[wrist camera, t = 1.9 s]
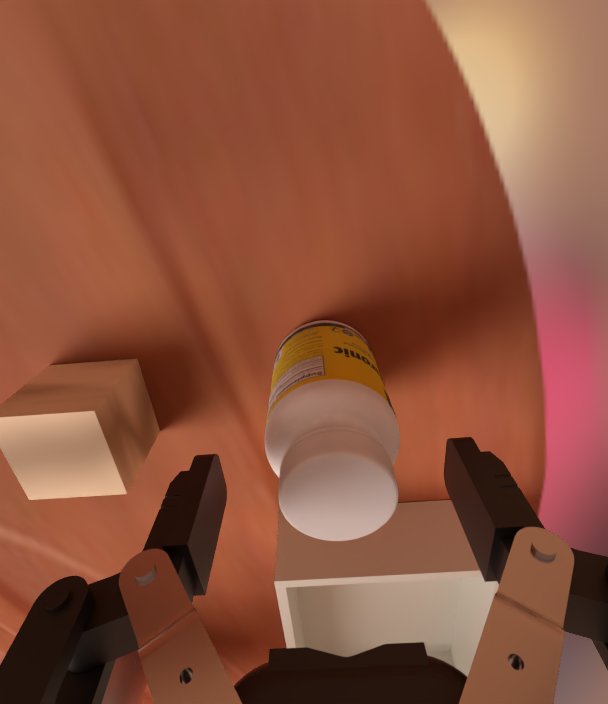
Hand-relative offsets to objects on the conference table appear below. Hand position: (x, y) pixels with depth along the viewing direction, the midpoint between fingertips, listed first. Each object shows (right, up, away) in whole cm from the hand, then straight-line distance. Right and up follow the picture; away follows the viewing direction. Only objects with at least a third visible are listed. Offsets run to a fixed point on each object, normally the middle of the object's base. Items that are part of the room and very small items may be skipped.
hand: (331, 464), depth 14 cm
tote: (+5, -14, +17) cm, 22 cm away
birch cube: (-12, +1, +9) cm, 15 cm away
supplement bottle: (0, +4, +8) cm, 9 cm away
